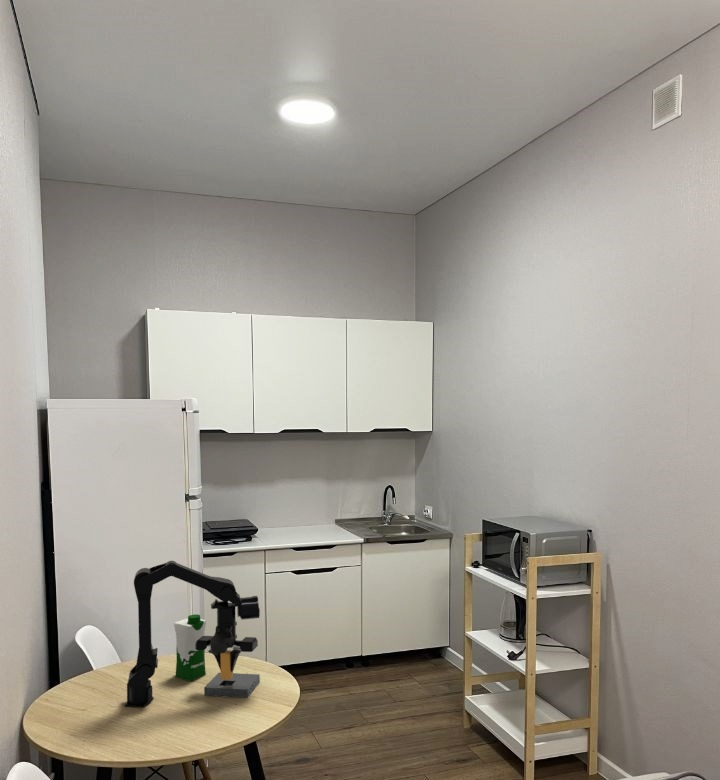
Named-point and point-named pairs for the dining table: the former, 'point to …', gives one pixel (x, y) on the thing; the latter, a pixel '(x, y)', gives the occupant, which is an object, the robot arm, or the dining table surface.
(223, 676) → the tan rectangular box
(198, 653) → the milk carton
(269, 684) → the dining table surface
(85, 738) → the dining table surface
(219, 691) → the gray slab with hole
